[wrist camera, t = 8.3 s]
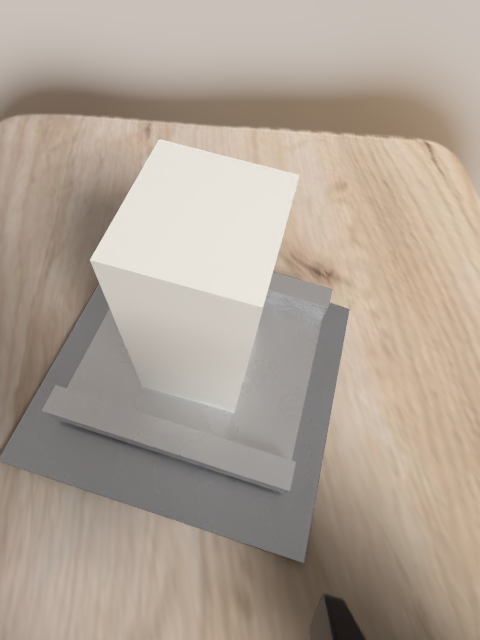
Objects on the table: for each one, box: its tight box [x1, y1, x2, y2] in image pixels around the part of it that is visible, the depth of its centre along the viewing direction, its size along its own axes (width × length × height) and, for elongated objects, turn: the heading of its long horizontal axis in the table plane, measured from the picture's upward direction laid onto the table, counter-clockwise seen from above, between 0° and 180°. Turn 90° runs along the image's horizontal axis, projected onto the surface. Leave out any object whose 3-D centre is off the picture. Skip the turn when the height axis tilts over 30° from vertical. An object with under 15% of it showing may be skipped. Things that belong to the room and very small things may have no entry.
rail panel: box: [0, 272, 349, 563], centre depth 19 cm, size 13×14×2 cm
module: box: [90, 139, 300, 413], centre depth 15 cm, size 5×5×10 cm
